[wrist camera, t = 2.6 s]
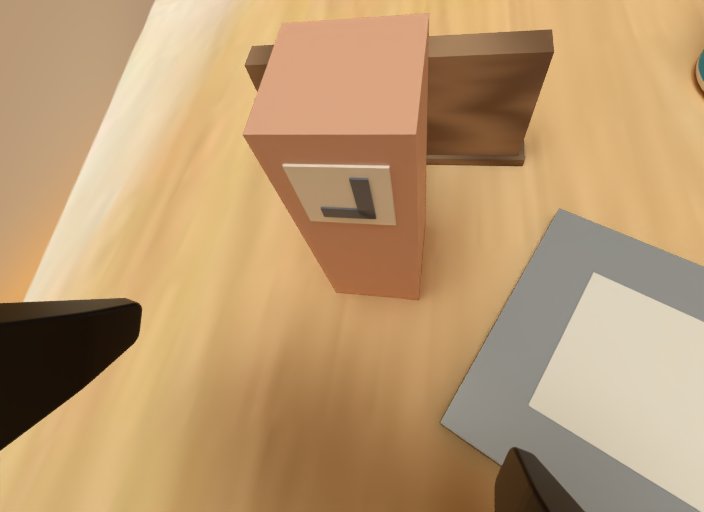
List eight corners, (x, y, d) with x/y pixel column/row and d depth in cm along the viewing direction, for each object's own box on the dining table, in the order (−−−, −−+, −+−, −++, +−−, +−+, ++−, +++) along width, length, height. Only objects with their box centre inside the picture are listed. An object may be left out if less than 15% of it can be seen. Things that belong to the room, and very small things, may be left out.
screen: (521, 139, 25) (560, 25, 18) (522, 165, 24) (563, 55, 17) (289, 139, 29) (247, 43, 22) (283, 161, 28) (236, 69, 21)
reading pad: (781, 661, 14) (803, 675, 13) (439, 423, 19) (440, 422, 18) (857, 340, 17) (877, 335, 17) (555, 215, 23) (559, 207, 22)
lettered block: (418, 302, 22) (415, 139, 10) (335, 294, 23) (241, 139, 11) (425, 225, 24) (429, 12, 12) (349, 221, 25) (281, 23, 13)
